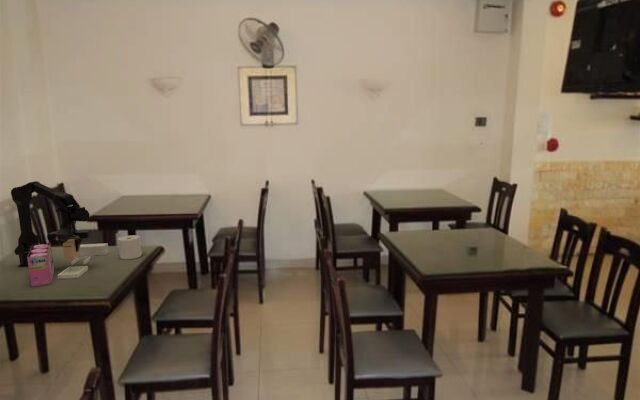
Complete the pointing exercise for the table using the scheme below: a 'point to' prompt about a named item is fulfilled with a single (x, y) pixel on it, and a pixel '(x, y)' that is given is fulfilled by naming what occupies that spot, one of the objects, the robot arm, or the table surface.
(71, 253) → the tan cuboid block
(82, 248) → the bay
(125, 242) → the toilet tissue
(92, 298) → the table surface
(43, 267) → the gum box
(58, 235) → the robot arm
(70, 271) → the tray
